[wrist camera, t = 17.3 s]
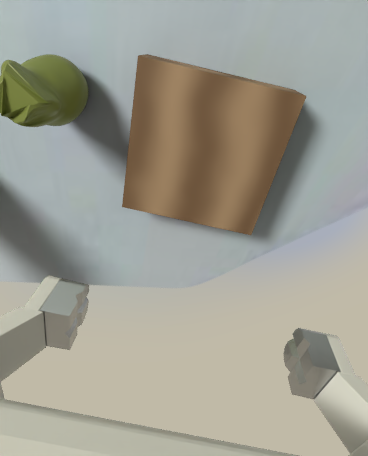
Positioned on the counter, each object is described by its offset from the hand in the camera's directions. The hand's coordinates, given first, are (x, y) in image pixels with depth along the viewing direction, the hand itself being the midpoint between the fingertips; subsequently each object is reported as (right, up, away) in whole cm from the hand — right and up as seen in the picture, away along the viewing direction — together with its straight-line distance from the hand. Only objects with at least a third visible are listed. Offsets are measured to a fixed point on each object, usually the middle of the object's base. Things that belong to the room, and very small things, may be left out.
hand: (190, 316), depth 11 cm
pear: (-12, +17, +18) cm, 27 cm away
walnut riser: (+2, +12, +19) cm, 23 cm away
